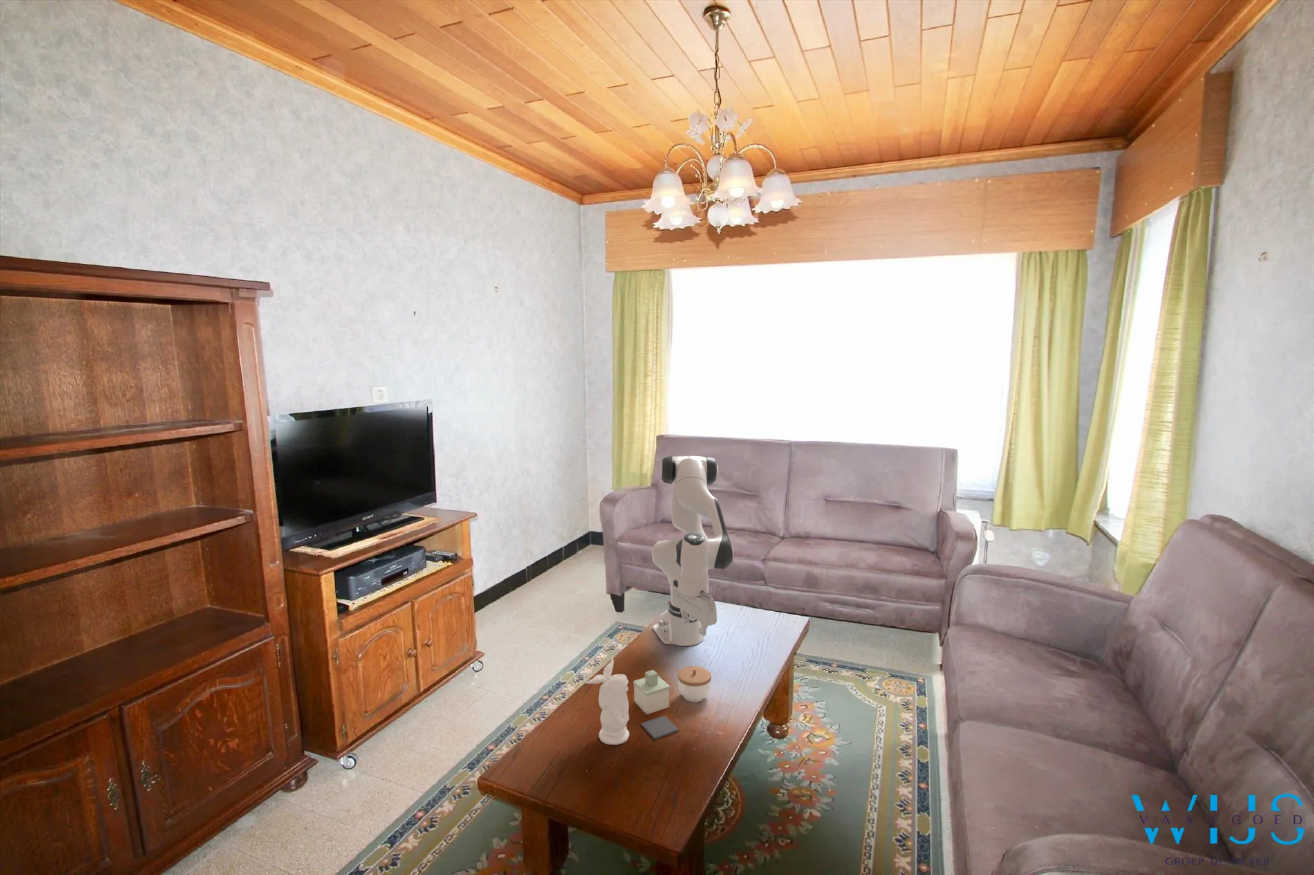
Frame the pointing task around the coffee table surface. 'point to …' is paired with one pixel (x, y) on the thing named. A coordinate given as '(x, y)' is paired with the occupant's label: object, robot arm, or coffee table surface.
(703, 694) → the lidded jar
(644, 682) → the lid
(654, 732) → the mat
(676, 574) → the robot arm
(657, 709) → the cream box
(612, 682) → the white tall figurine
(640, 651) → the coffee table surface
